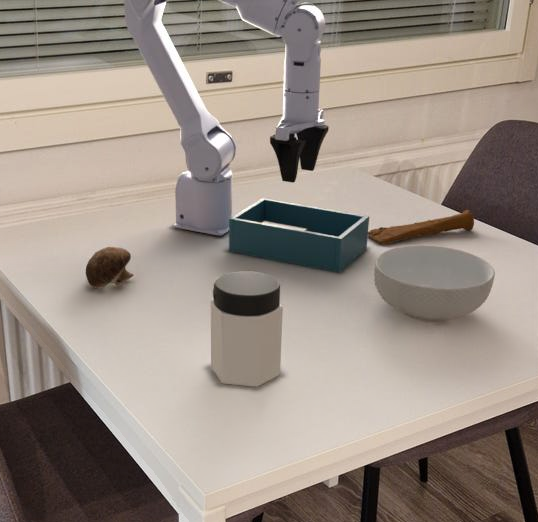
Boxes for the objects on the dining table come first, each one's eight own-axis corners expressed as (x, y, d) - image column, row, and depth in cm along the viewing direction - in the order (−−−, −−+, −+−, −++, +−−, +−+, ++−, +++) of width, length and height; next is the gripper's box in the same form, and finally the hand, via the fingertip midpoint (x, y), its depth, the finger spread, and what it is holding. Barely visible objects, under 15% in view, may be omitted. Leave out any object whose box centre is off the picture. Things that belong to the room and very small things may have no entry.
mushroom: (152, 261, 145) (125, 229, 142) (128, 297, 141) (99, 265, 138) (120, 273, 151) (93, 243, 148) (96, 308, 147) (68, 278, 144)
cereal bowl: (414, 344, 131) (420, 295, 127) (349, 300, 143) (352, 254, 139) (511, 322, 137) (520, 275, 133) (441, 282, 150) (447, 238, 146)
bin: (228, 251, 159) (228, 218, 156) (261, 229, 168) (262, 197, 165) (338, 272, 152) (341, 239, 149) (366, 248, 162) (369, 216, 159)
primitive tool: (380, 244, 163) (382, 224, 161) (365, 234, 167) (366, 214, 165) (476, 233, 169) (479, 213, 167) (459, 223, 173) (462, 204, 172)
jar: (243, 350, 128) (245, 264, 121) (291, 370, 123) (296, 281, 117) (197, 373, 122) (196, 284, 115) (246, 394, 118) (248, 303, 111)
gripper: (305, 100, 146) (302, 190, 153) (342, 83, 157) (337, 168, 164) (264, 95, 148) (262, 183, 156) (302, 79, 159) (299, 162, 167)
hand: (298, 175), depth 160 cm, fingers open, 7 cm apart
